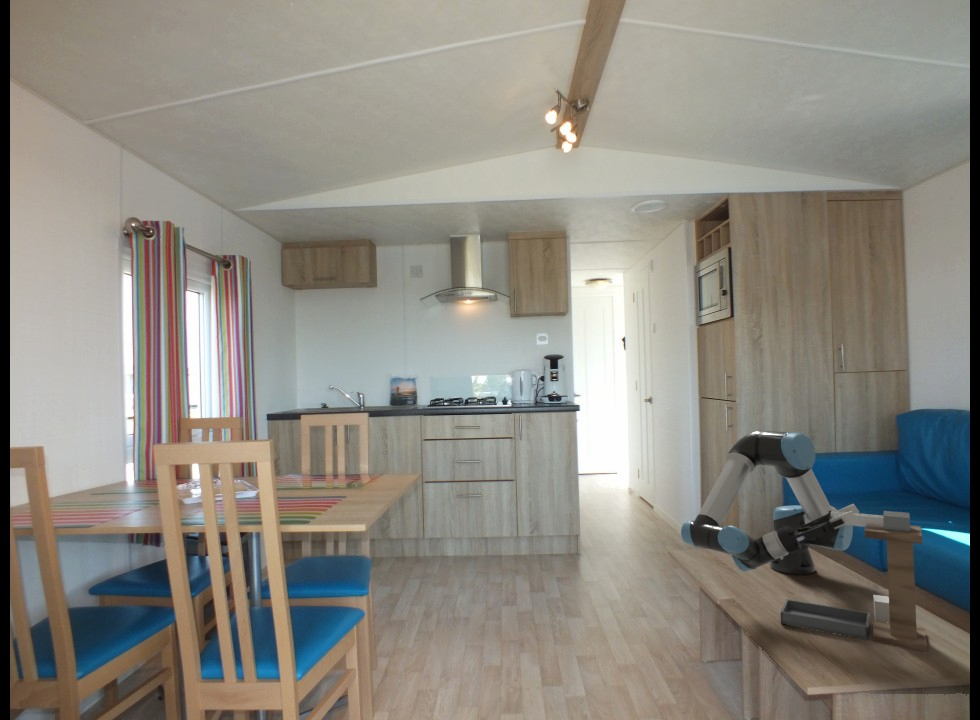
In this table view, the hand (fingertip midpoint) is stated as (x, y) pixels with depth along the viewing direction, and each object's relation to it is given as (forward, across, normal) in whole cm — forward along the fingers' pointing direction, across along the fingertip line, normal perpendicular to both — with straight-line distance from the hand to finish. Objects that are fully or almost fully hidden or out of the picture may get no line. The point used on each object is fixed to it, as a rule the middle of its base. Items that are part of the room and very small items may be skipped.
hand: (855, 511), depth 176 cm
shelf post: (-9, 0, -34) cm, 35 cm away
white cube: (-12, -13, -33) cm, 37 cm away
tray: (-24, 0, -25) cm, 35 cm away
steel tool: (+1, 0, -5) cm, 5 cm away
